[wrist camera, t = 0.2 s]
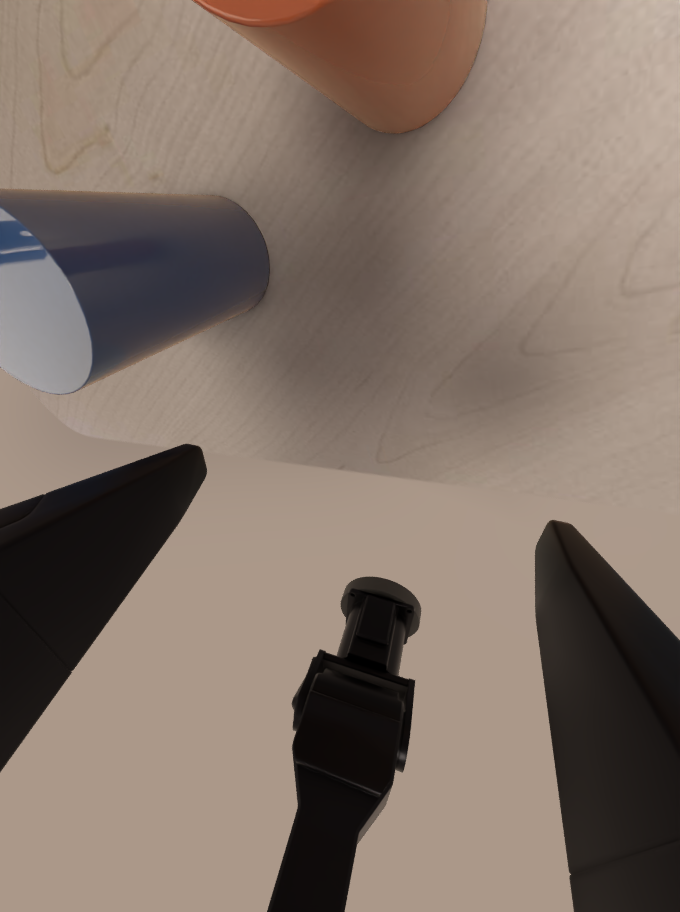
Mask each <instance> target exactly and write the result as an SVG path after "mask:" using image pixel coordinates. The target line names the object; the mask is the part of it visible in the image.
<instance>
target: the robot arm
mask: <svg viewBox="0 0 680 912" xmlns="http://www.w3.org/2000/svg"><path fill="white" fill-rule="evenodd" d="M206 474H207V468H206V464H205V460H204V456H203V452H202V449H201V448H200V447H199V446H196V445H191V444H183V445H180V446H178V447H175V448H172V449H169V450H166V451H163V452H161V453H158V454H155V455H152V456H149V457H147V458H144V459H141V460H138V461H135V462H133V463H130V464H127V465H124V466H122V467H119V468H116V469H113V470H110V471H107V472H104V473H102V474H99V475H96V476H93V477H90V478H88V479H85V480H82V481H79V482H76V483H73V484H71V485H68V486H65V487H63V488H59V489H57V490H54V491H51V492H48V493H46V494H45V495H43V494H42V495H40V496H37V497H34V498H31V499H28V500H25V501H22V502H20V503H17V504H14V505H11V506H8V507H5V508H2V509H0V772H1V770H2V769H3V768H4V766H5V765H6V763H7V762H8V761H9V759H10V758H11V757H12V755H13V754H14V752H15V751H16V750H17V748H18V747H19V745H20V744H21V743H22V741H23V740H24V738H25V737H26V736H27V734H28V733H29V731H30V730H31V729H32V727H33V726H34V724H35V723H36V722H37V720H38V719H39V718H40V716H41V715H42V713H43V712H44V711H45V709H46V708H47V706H48V705H49V704H50V702H51V701H52V699H53V698H54V696H55V695H56V694H57V692H58V691H59V690H60V688H61V687H62V685H63V684H64V683H65V681H66V680H67V679H68V677H69V676H70V674H71V673H72V672H71V671H72V670H74V668H75V667H76V666H77V664H78V663H79V662H80V660H81V658H82V657H83V656H84V655H85V653H86V652H87V650H88V649H89V648H90V646H91V645H92V643H93V642H94V641H95V639H96V638H97V637H98V635H99V634H100V632H101V631H102V630H103V628H104V627H105V625H106V624H107V623H108V621H109V620H110V618H111V617H112V616H113V614H114V613H115V611H116V610H117V608H118V607H119V606H120V604H121V603H122V602H123V600H124V599H125V597H126V596H127V595H128V593H129V592H130V591H131V589H132V588H133V586H134V585H135V584H136V582H137V581H138V579H139V578H140V577H141V575H142V574H143V573H144V571H145V570H146V568H147V567H148V565H149V564H150V563H151V561H152V560H153V559H154V557H155V556H156V554H157V553H158V552H159V550H160V549H161V547H162V546H163V545H164V543H165V542H166V540H167V539H168V538H169V536H170V535H171V534H172V532H173V531H174V529H175V528H176V527H177V525H178V524H179V522H180V520H181V519H182V517H183V516H184V514H185V512H186V511H187V509H188V507H189V505H190V503H191V502H192V500H193V498H194V497H195V495H196V493H197V491H198V490H199V488H200V486H201V484H202V483H203V481H204V479H205V477H206ZM535 612H536V624H537V632H538V640H539V647H540V655H541V662H542V670H543V678H544V685H545V693H546V700H547V708H548V716H549V723H550V730H551V738H552V746H553V753H554V760H555V768H556V776H557V784H558V791H559V798H560V807H561V814H562V822H563V829H564V837H565V845H566V852H567V860H568V867H569V872H570V874H571V875H570V884H571V892H572V900H573V907H574V912H680V640H679V639H678V638H677V637H676V636H675V635H674V634H673V633H672V631H671V630H670V629H669V628H668V627H667V626H666V625H665V624H664V623H663V622H662V621H661V620H660V619H659V617H657V615H656V614H655V613H654V612H653V611H652V610H651V609H650V608H649V607H648V606H647V605H646V604H645V602H644V601H643V600H642V599H641V598H640V597H639V596H638V595H637V594H636V593H635V592H634V591H633V590H632V589H631V587H630V586H629V585H628V584H627V583H626V582H625V581H624V580H623V579H622V578H621V577H620V576H619V575H618V573H617V572H616V571H615V570H614V569H613V568H612V567H611V566H610V565H609V564H608V563H607V562H606V561H605V560H604V558H603V557H601V555H600V554H599V553H598V552H597V551H596V550H595V549H594V548H593V547H592V546H591V545H590V544H589V542H588V541H587V540H586V539H585V538H584V537H583V536H582V535H581V534H580V533H579V532H578V531H577V529H576V528H575V527H574V526H573V525H571V524H569V523H565V522H561V521H556V520H551V521H549V523H547V525H546V527H545V529H544V531H543V533H542V535H541V537H540V539H539V541H538V543H537V545H536V550H535ZM414 613H415V607H414V606H413V605H410V604H407V603H403V602H400V601H396V600H393V599H389V598H386V597H382V596H379V595H375V594H372V593H368V592H365V591H361V590H358V589H354V588H351V589H350V590H349V592H348V601H347V614H346V627H345V630H344V633H343V637H342V640H341V643H340V647H339V650H338V653H337V656H335V655H332V654H329V653H326V651H323V650H319V652H318V655H317V657H313V659H312V662H311V664H310V667H309V670H308V673H307V675H306V677H305V679H304V681H303V683H302V684H301V686H300V687H299V689H298V691H297V693H296V694H295V696H294V698H293V701H292V707H293V709H294V721H293V730H294V731H296V734H295V737H294V741H293V745H292V750H293V761H294V771H295V781H296V791H297V800H298V809H297V812H296V816H295V819H294V823H293V826H292V830H291V833H290V836H289V840H288V843H287V847H286V850H285V853H284V856H283V860H282V863H281V866H280V870H279V873H278V877H277V880H276V883H275V887H274V890H273V894H272V897H271V900H270V904H269V907H268V910H267V912H345V906H346V900H347V895H348V889H349V884H350V879H351V873H352V868H353V863H354V857H355V852H356V847H357V844H358V843H359V841H360V840H361V839H362V837H363V836H364V835H365V833H366V832H367V830H368V829H369V828H370V826H371V825H372V824H373V822H374V821H375V820H376V818H377V817H378V816H379V814H380V813H381V811H382V810H383V809H384V807H385V805H386V802H387V800H388V797H389V794H390V791H391V788H392V785H393V781H394V773H395V770H397V771H400V772H403V770H404V767H405V762H406V757H407V751H408V745H409V738H410V730H411V720H412V708H413V698H414V687H415V680H412V679H405V678H403V677H399V676H398V675H399V669H400V662H401V656H402V650H403V644H406V643H407V639H408V635H409V632H410V628H411V624H412V620H413V617H414Z"/></svg>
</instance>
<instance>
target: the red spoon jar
mask: <svg viewBox="0 0 680 912" xmlns="http://www.w3.org/2000/svg"><path fill="white" fill-rule="evenodd" d="M192 1H194V2H195V3H196V4H198V5H199V6H200V7H202V8H203V9H205V10H206V11H207V12H209V13H210V14H212V15H213V16H214V17H216V18H217V19H219V20H220V21H221V22H223V23H224V24H226V25H227V26H228V27H230V28H231V29H233V30H234V31H235V32H237V33H238V34H240V35H241V36H242V37H244V38H245V39H247V40H248V41H249V42H251V43H252V44H253V45H255V46H256V47H258V48H259V49H260V50H262V51H263V52H265V53H266V54H267V55H269V56H270V57H272V58H273V59H274V60H276V61H277V62H279V63H280V64H281V65H283V66H284V67H286V68H287V69H288V70H290V71H291V72H293V73H294V74H295V75H297V76H298V77H299V78H301V79H302V80H304V81H305V82H306V83H308V84H309V85H311V86H312V87H313V88H315V89H316V90H318V91H319V92H320V93H322V94H323V95H325V96H326V97H327V98H329V99H330V100H332V101H333V102H334V103H336V104H337V105H339V106H340V107H341V108H343V109H344V110H346V111H347V112H348V113H350V114H351V115H352V116H354V117H355V118H357V119H358V120H359V121H361V122H362V123H364V124H365V125H367V126H368V127H370V128H372V129H374V130H376V131H380V132H384V133H392V134H395V133H404V132H408V131H412V130H414V129H417V128H419V127H421V126H423V125H425V124H426V123H428V122H429V121H431V120H432V119H433V118H435V117H436V116H437V115H438V114H440V113H441V112H442V111H443V110H444V109H445V108H446V106H447V105H448V104H449V103H450V102H451V101H452V99H453V98H454V97H455V96H456V94H457V93H458V91H459V90H460V88H461V86H462V85H463V83H464V82H465V80H466V78H467V76H468V74H469V72H470V70H471V68H472V65H473V63H474V60H475V58H476V56H477V52H478V49H479V46H480V43H481V39H482V35H483V30H484V26H485V19H486V11H487V0H192Z"/></svg>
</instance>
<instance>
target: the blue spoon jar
mask: <svg viewBox="0 0 680 912" xmlns="http://www.w3.org/2000/svg"><path fill="white" fill-rule="evenodd" d="M268 279H269V258H268V252H267V248H266V245H265V242H264V239H263V237H262V235H261V232H260V230H259V229H258V227H257V225H256V224H255V222H254V221H253V220H252V218H251V217H250V216H249V215H248V214H247V213H246V211H245V210H243V209H242V208H241V207H240V206H239V205H237V204H236V203H234V202H233V201H231V200H229V199H227V198H224V197H220V196H215V195H189V194H158V193H126V192H95V191H63V190H32V189H0V367H1V368H2V369H3V370H4V371H5V372H7V373H8V374H10V375H11V376H13V377H14V378H16V379H17V380H19V381H21V382H22V383H24V384H26V385H28V386H30V387H32V388H34V389H37V390H40V391H42V392H46V393H50V394H58V395H60V394H70V393H74V392H76V391H78V390H80V389H83V388H85V387H87V386H89V385H91V384H93V383H95V382H97V381H100V380H102V379H104V378H106V377H108V376H110V375H112V374H114V373H117V372H119V371H121V370H123V369H125V368H127V367H129V366H131V365H134V364H136V363H138V362H140V361H142V360H144V359H146V358H148V357H150V356H153V355H155V354H157V353H159V352H161V351H163V350H165V349H167V348H170V347H172V346H174V345H176V344H178V343H180V342H182V341H184V340H187V339H189V338H191V337H193V336H195V335H197V334H199V333H201V332H204V331H206V330H208V329H210V328H212V327H214V326H216V325H218V324H221V323H223V322H225V321H227V320H229V319H231V318H233V317H235V316H238V315H240V314H242V313H244V312H246V311H248V310H250V309H252V308H253V307H254V306H255V305H256V304H257V303H258V302H259V301H260V300H261V298H262V297H263V295H264V293H265V290H266V287H267V284H268Z"/></svg>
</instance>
